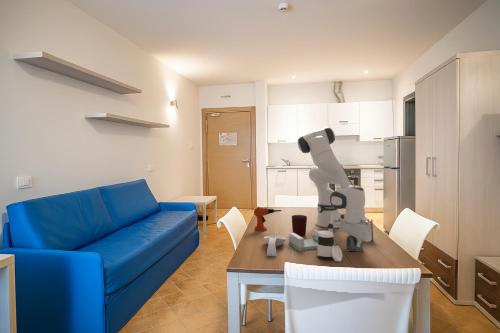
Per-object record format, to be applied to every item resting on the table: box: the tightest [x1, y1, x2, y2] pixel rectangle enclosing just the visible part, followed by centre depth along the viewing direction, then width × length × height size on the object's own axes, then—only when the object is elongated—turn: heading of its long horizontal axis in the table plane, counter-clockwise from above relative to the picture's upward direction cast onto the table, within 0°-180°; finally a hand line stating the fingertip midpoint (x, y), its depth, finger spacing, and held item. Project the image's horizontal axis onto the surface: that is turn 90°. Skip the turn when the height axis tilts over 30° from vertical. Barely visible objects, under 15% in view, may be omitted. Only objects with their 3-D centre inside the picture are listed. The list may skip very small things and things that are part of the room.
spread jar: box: [316, 230, 343, 262], centre depth 135 cm, size 12×11×12 cm
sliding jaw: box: [311, 224, 335, 240], centre depth 156 cm, size 10×11×9 cm
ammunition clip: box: [365, 218, 374, 241], centre depth 162 cm, size 11×2×12 cm, turn 72°
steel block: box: [346, 235, 364, 252], centre depth 145 cm, size 8×3×7 cm, turn 109°
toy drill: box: [253, 206, 282, 232], centre depth 180 cm, size 5×19×15 cm, turn 67°
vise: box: [288, 232, 337, 252], centre depth 153 cm, size 22×11×6 cm, turn 109°
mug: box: [291, 214, 308, 238], centre depth 173 cm, size 12×9×11 cm
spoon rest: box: [263, 235, 287, 257], centre depth 149 cm, size 24×12×7 cm, turn 171°
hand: (354, 245), depth 145 cm, fingers closed on steel block, 3 cm apart
